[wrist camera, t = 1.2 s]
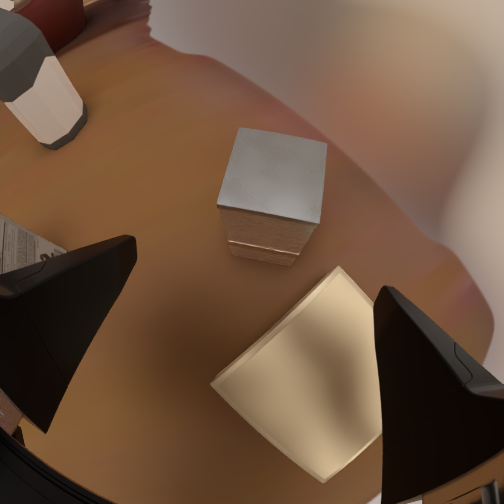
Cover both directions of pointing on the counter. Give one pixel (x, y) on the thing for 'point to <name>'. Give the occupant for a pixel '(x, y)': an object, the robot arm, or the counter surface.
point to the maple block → (312, 379)
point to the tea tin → (272, 195)
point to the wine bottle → (37, 83)
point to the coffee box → (22, 246)
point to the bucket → (54, 19)
